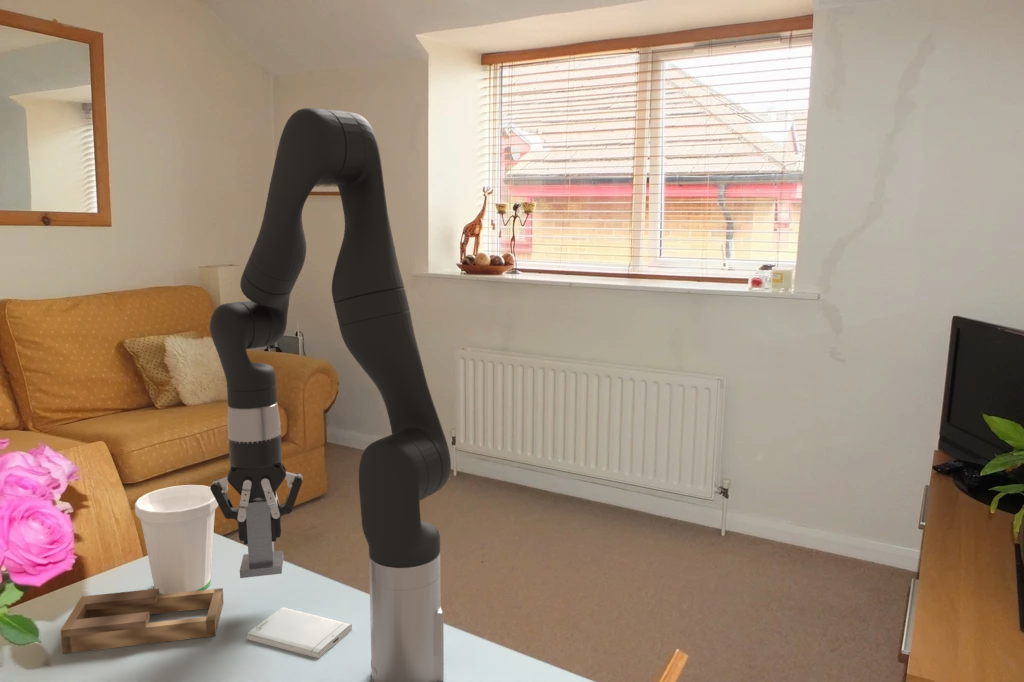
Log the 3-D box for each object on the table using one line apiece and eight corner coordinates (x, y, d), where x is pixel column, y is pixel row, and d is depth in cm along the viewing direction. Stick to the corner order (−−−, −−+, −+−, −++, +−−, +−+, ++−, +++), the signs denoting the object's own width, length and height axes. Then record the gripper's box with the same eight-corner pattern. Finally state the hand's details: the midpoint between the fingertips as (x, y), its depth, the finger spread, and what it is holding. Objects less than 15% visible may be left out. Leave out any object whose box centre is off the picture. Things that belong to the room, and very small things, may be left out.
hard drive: (246, 632, 110) (318, 651, 105) (283, 605, 117) (352, 622, 112) (247, 643, 110) (319, 661, 105) (284, 615, 117) (352, 632, 113)
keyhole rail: (223, 602, 120) (222, 582, 119) (215, 635, 110) (214, 613, 110) (83, 617, 115) (81, 596, 114) (62, 653, 106) (60, 630, 105)
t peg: (283, 557, 122) (279, 490, 120) (281, 573, 116) (277, 503, 114) (244, 561, 120) (239, 493, 118) (240, 578, 114) (235, 507, 113)
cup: (127, 587, 124) (120, 499, 122) (199, 562, 134) (195, 479, 131) (163, 613, 116) (157, 519, 114) (238, 584, 126) (233, 496, 123)
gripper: (200, 443, 109) (208, 556, 112) (302, 436, 113) (307, 546, 115) (208, 429, 116) (215, 536, 119) (303, 423, 120) (308, 527, 122)
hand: (261, 540), depth 117 cm, fingers closed on t peg, 3 cm apart
